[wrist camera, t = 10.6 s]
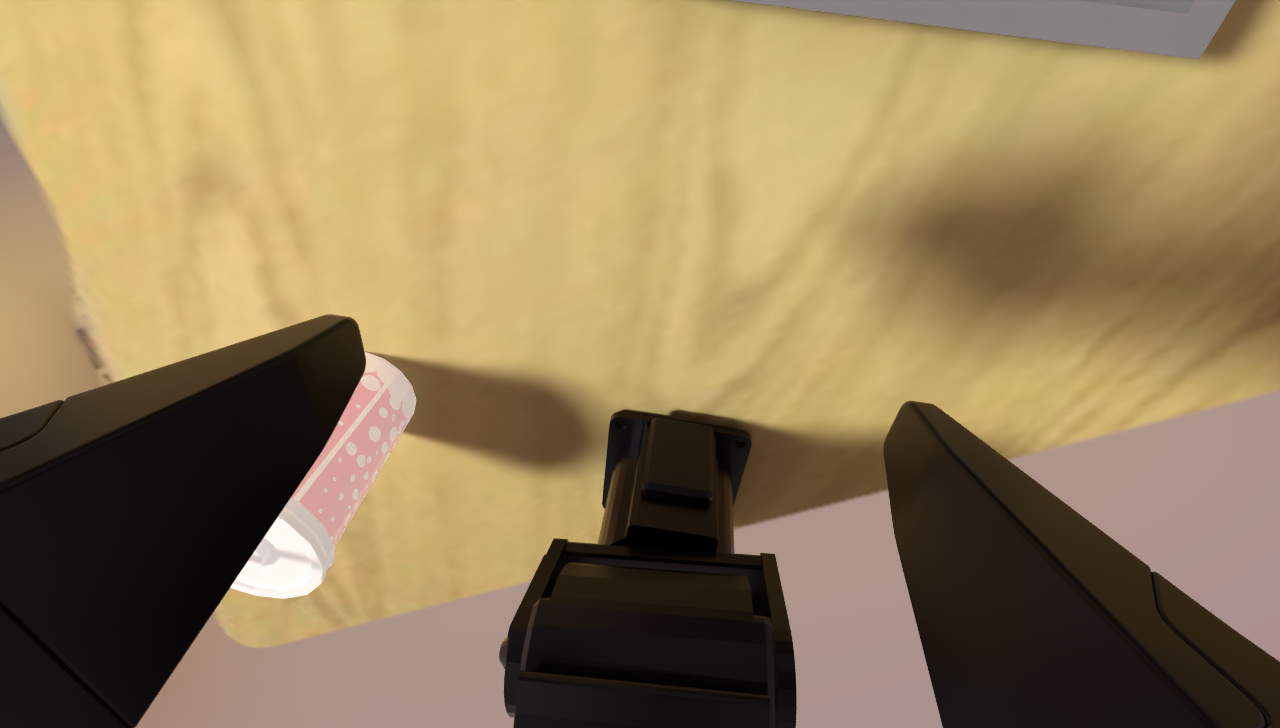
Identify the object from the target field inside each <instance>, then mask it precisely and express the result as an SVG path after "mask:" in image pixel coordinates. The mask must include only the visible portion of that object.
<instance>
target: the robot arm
mask: <svg viewBox="0 0 1280 728" xmlns="http://www.w3.org/2000/svg"><path fill="white" fill-rule="evenodd" d="M365 368H366V356H365V352H364V347H363V343H362V339H361V335H360V330H359V327H358V324H357V322H356V321H355V320H354V319H353V318H351V317H345V316H338V315H331V314H330V315H324V316H321V317H317V318H314V319H311V320H308V321H305V322H302V323H299V324H296V325H292V326H289V327H286V328H283V329H280V330H277V331H274V332H271V333H267V334H264V335H261V336H258V337H255V338H252V339H249V340H246V341H242V342H239V343H236V344H233V345H230V346H227V347H224V348H221V349H217V350H214V351H211V352H208V353H205V354H202V355H199V356H196V357H192V358H189V359H186V360H183V361H180V362H177V363H174V364H171V365H167V366H164V367H161V368H158V369H155V370H152V371H149V372H145V373H142V374H139V375H136V376H133V377H130V378H127V379H124V380H120V381H117V382H114V383H111V384H108V385H105V386H102V387H99V388H95V389H93V390H89V391H86V392H83V393H80V394H77V395H74V396H70V397H68V398H67V399H66V400H65V401H63V400H58V401H54V402H51V403H48V404H45V405H42V406H39V407H36V408H33V409H29V410H26V411H23V412H20V413H17V414H13V415H10V416H7V417H4V418H0V728H135V727H136V726H137V724H138V723H139V721H140V720H141V718H142V717H143V715H144V714H145V712H146V711H147V710H148V708H149V707H150V705H151V703H152V702H153V701H154V699H155V698H156V696H157V695H158V693H159V692H160V690H161V689H162V687H163V686H164V684H165V683H166V681H167V680H168V679H169V677H170V676H171V674H172V673H173V671H174V670H175V668H176V667H177V665H178V664H179V662H180V661H181V659H182V658H183V656H184V655H185V653H186V652H187V650H188V649H189V647H190V646H191V644H192V643H193V642H194V640H195V639H196V637H197V636H198V634H199V633H200V631H201V630H202V628H203V627H204V625H205V624H206V622H207V621H208V619H209V618H210V616H211V615H212V614H213V612H214V611H215V609H216V608H217V606H218V605H219V603H220V602H221V600H222V599H223V597H224V596H225V594H226V593H227V591H228V590H229V588H230V587H231V585H232V584H233V583H234V581H235V580H236V578H237V577H238V575H239V574H240V572H241V571H242V569H243V568H244V566H245V565H246V563H247V562H248V560H249V559H250V557H251V556H252V554H253V553H254V551H255V550H256V549H257V547H258V546H259V544H260V543H261V541H262V540H263V538H264V537H265V535H266V534H267V532H268V531H269V529H270V528H271V526H272V525H273V523H274V522H275V520H276V519H277V517H278V516H279V515H280V513H281V512H282V510H283V509H284V507H285V506H286V504H287V503H288V501H289V500H290V498H291V497H292V495H293V494H294V492H295V491H296V489H297V488H298V486H299V485H300V484H301V482H302V481H303V479H304V478H305V476H306V475H307V473H308V472H309V470H310V469H311V467H312V466H313V464H314V463H315V461H316V460H317V458H318V457H319V455H320V454H321V452H322V451H323V449H324V447H325V446H326V444H327V442H328V441H329V439H330V437H331V435H332V433H333V432H334V430H335V428H336V426H337V424H338V422H339V420H340V418H341V416H342V414H343V412H344V411H345V409H346V407H347V405H348V403H349V401H350V399H351V397H352V395H353V393H354V391H355V389H356V388H357V386H358V384H359V382H360V380H361V378H362V376H363V374H364V372H365ZM618 421H621V422H624V423H625V424H620V423H618ZM737 440H743V442H737ZM750 449H751V436H750V434H749V433H748V432H747V431H744V430H739V429H733V428H726V427H720V426H713V425H707V424H700V423H694V422H687V421H681V420H674V419H667V418H661V417H654V416H648V415H641V414H635V413H628V412H616V413H614V414H613V415H612V417H611V421H610V426H609V437H608V447H607V458H606V469H605V479H604V490H603V501H602V505H603V507H604V508H605V512H604V517H603V522H602V527H601V531H600V536H599V541H598V544H592V543H578V542H568V539H555V538H554V540H553V542H552V544H551V546H550V548H549V550H548V552H547V554H546V555H544V557H543V559H542V561H541V563H540V565H539V567H538V569H537V571H536V573H535V575H534V577H533V579H532V581H531V583H530V586H529V588H528V590H527V592H526V594H525V596H524V598H523V600H522V602H521V604H520V606H519V608H518V610H517V612H516V615H515V617H514V619H513V621H512V623H511V625H510V628H509V632H508V636H507V637H506V639H505V640H504V641H503V643H502V645H501V648H500V655H499V659H500V662H501V663H502V665H503V667H504V669H505V677H504V699H505V707H506V711H507V713H508V715H509V716H510V717H514V718H515V719H514V728H795V726H796V673H795V660H794V651H793V642H792V636H791V630H790V626H789V620H788V615H787V611H786V606H785V601H784V596H783V591H782V586H781V581H780V577H779V572H778V567H777V562H776V558H775V554H767V553H760V555H745V554H734V530H733V504H734V501H735V498H736V494H737V491H738V488H739V485H740V481H741V478H742V475H743V471H744V468H745V465H746V462H747V458H748V455H749V452H750ZM884 459H885V467H886V474H887V482H888V490H889V498H890V506H891V513H892V521H893V528H894V534H895V539H896V543H897V547H898V551H899V555H900V560H901V563H902V568H903V572H904V576H905V579H906V583H907V587H908V591H909V595H910V599H911V603H912V607H913V611H914V615H915V619H916V623H917V627H918V631H919V634H920V639H921V643H922V646H923V651H924V654H925V659H926V662H927V666H928V670H929V674H930V678H931V682H932V686H933V690H934V694H935V698H936V702H937V706H938V710H939V714H940V718H941V722H942V726H943V728H1280V662H1279V661H1278V660H1276V659H1275V658H1274V657H1272V656H1270V655H1269V654H1268V653H1266V652H1265V651H1264V650H1262V649H1261V648H1259V647H1258V646H1256V645H1255V644H1254V643H1252V642H1251V641H1249V640H1248V639H1246V638H1245V637H1244V636H1242V635H1241V634H1239V633H1238V632H1237V631H1235V630H1234V629H1232V628H1231V627H1230V626H1228V625H1227V624H1226V623H1224V622H1223V621H1222V620H1220V619H1219V618H1217V617H1216V616H1215V615H1213V614H1212V613H1211V612H1209V611H1208V610H1206V609H1205V608H1204V607H1202V606H1201V605H1200V604H1198V603H1197V602H1196V601H1194V600H1193V599H1191V598H1190V597H1189V596H1188V595H1186V594H1185V593H1184V592H1182V591H1181V590H1179V589H1178V588H1177V587H1176V586H1174V585H1173V584H1172V583H1170V582H1169V581H1168V580H1166V579H1165V578H1164V577H1162V576H1161V575H1160V574H1158V573H1157V572H1151V570H1150V567H1149V566H1148V565H1146V564H1145V563H1144V562H1142V561H1141V560H1140V559H1138V558H1137V557H1136V556H1134V555H1133V554H1132V553H1130V552H1129V551H1128V550H1126V549H1125V548H1124V547H1122V546H1121V545H1120V544H1118V543H1117V542H1116V541H1114V540H1113V539H1112V538H1110V537H1109V536H1108V535H1106V534H1105V533H1104V532H1103V531H1101V530H1100V529H1099V528H1097V527H1096V526H1095V525H1093V524H1092V523H1091V522H1089V521H1088V520H1087V519H1085V518H1084V517H1083V516H1081V515H1080V514H1079V513H1077V512H1076V511H1075V510H1073V509H1072V508H1071V507H1069V506H1068V505H1067V504H1065V503H1064V502H1063V501H1061V500H1060V499H1059V498H1057V497H1056V496H1055V495H1053V494H1052V493H1051V492H1049V491H1048V490H1047V489H1045V488H1044V487H1043V486H1042V485H1040V484H1039V483H1037V482H1036V481H1035V480H1034V479H1032V478H1031V477H1029V476H1028V475H1027V474H1026V473H1024V472H1023V471H1021V470H1020V469H1019V468H1018V467H1016V466H1015V465H1014V464H1012V463H1011V462H1010V461H1008V460H1007V459H1006V458H1004V457H1003V456H1002V455H1000V454H999V453H998V452H996V451H995V450H994V449H992V448H991V447H990V446H989V445H987V444H986V443H985V442H983V441H982V440H981V439H979V438H978V437H977V436H975V435H974V434H973V433H971V432H970V431H969V430H967V429H966V428H965V427H963V426H962V425H961V424H959V423H958V422H957V421H955V420H954V419H953V418H951V417H950V416H949V415H947V414H946V413H945V412H943V411H942V410H941V409H939V408H938V407H937V406H935V405H933V404H930V403H923V402H916V401H908V402H905V403H904V404H903V405H902V407H901V408H900V410H899V412H898V414H897V416H896V418H895V420H894V422H893V424H892V426H891V428H890V430H889V432H888V434H887V436H886V439H885V442H884Z"/></svg>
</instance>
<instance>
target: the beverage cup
mask: <svg viewBox="0 0 1280 728" xmlns="http://www.w3.org/2000/svg"><path fill="white" fill-rule="evenodd" d="M364 352H365V351H364ZM365 356H366V368H365V372H364V374H363V376H362V378H361V380H360V382H359V384H358V386H357V388H356V389H355V391H354V393H353V395H352V397H351V399H350V401H349V403H348V405H347V407H346V409H345V411H344V412H343V414H342V416H341V418H340V420H339V422H338V424H337V426H336V428H335V430H334V432H333V433H332V435H331V437H330V439H329V441H328V442H327V444H326V446H325V447H324V449H323V451H322V452H321V454H320V455H319V457H318V458H317V460H316V461H315V463H314V464H313V466H312V467H311V469H310V470H309V472H308V473H307V475H306V476H305V478H304V479H303V481H302V482H301V484H300V485H299V486H298V488H297V489H296V491H295V492H294V494H293V495H292V497H291V498H290V500H289V501H288V503H287V504H286V506H285V507H284V509H283V510H282V512H281V513H280V515H279V516H278V517H277V519H276V520H275V522H274V523H273V525H272V526H271V528H270V529H269V531H268V532H267V534H266V535H265V537H264V538H263V540H262V541H261V543H260V544H259V546H258V547H257V549H256V550H255V551H254V553H253V554H252V556H251V557H250V559H249V560H248V562H247V563H246V565H245V566H244V568H243V569H242V571H241V572H240V574H239V575H238V577H237V578H236V580H235V581H234V583H233V584H232V585H231V587H230V588H232V589H236V590H239V591H242V592H245V593H249V594H252V595H255V596H264V597H274V598H283V599H285V598H291V597H297V596H302V595H308V594H309V593H310V592H311V591H312V590H314V589H315V588H316V587H317V586H319V585H320V584H321V583H322V581H323V580H324V578H325V577H326V570H327V569H328V568H329V567H330V566H331V565H332V564H333V559H334V550H335V546H336V545H337V543H338V541H339V539H340V538H341V536H342V534H343V533H344V531H345V529H346V528H347V526H348V524H349V522H350V521H351V519H352V517H353V516H354V514H355V512H356V511H357V509H358V507H359V506H360V504H361V502H362V500H363V499H364V497H365V495H366V494H367V492H368V490H369V489H370V487H371V485H372V483H373V482H374V480H375V478H376V477H377V475H378V473H379V472H380V470H381V468H382V467H383V465H384V463H385V461H386V460H387V458H388V456H389V455H390V453H391V451H392V450H393V448H394V446H395V444H396V443H397V441H398V439H399V438H400V436H401V434H402V433H403V431H404V429H405V428H406V426H407V424H408V422H409V421H410V419H411V417H412V416H413V414H414V411H415V406H416V401H417V400H416V397H415V394H414V390H413V387H412V385H411V384H410V382H409V381H408V380H407V378H406V377H405V376H404V375H403V373H402V372H401V371H400V370H399V369H397V368H396V367H395V366H393V365H392V364H390V363H389V362H388V361H386V360H385V359H383V358H381V357H378V356H375V355H373V354H370V353H367V352H365Z"/></svg>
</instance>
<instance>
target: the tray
mask: <svg viewBox="0 0 1280 728" xmlns="http://www.w3.org/2000/svg"><path fill="white" fill-rule="evenodd" d="M734 1H742V2H750V3H758V4H766V5H774V6H782V7H789V8H797V9H805V10H813V11H821V12H829V13H837V14H845V15H853V16H860V17H868V18H876V19H884V20H892V21H900V22H908V23H916V24H923V25H931V26H939V27H947V28H955V29H963V30H971V31H979V32H987V33H994V34H1002V35H1010V36H1018V37H1026V38H1034V39H1042V40H1050V41H1058V42H1065V43H1073V44H1081V45H1089V46H1097V47H1105V48H1113V49H1121V50H1129V51H1136V52H1144V53H1152V54H1160V55H1168V56H1176V57H1184V58H1192V59H1200V58H1201V56H1202V54H1203V53H1204V51H1205V50H1206V48H1207V46H1208V45H1209V43H1210V41H1211V40H1212V38H1213V37H1214V35H1215V33H1216V32H1217V30H1218V28H1219V27H1220V25H1221V23H1222V22H1223V20H1224V19H1225V17H1226V15H1227V14H1228V12H1229V10H1230V9H1231V7H1232V6H1233V4H1234V2H1235V1H1236V0H734Z"/></svg>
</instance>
